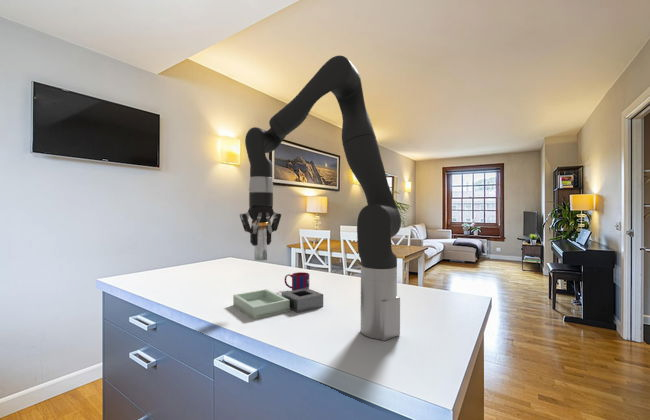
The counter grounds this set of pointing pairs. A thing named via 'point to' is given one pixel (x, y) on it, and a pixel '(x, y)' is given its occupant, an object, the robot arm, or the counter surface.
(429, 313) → the counter surface
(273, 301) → the tray
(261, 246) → the pin
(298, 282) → the mug
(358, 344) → the counter surface
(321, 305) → the block
